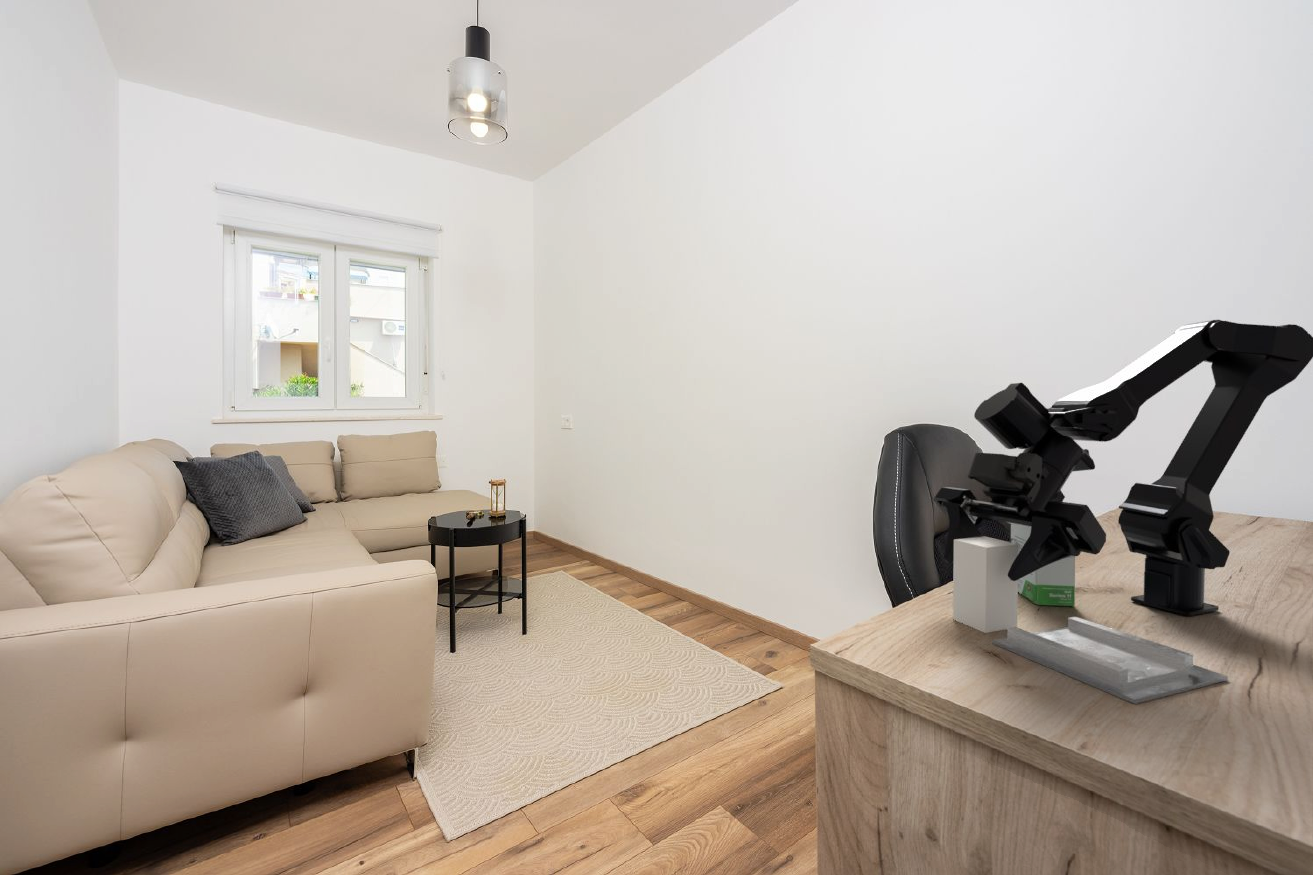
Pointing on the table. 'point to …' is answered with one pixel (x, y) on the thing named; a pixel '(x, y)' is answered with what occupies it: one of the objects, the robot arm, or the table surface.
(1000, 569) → the block
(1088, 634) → the rail panel
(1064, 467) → the robot arm
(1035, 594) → the ink box
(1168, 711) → the table surface
